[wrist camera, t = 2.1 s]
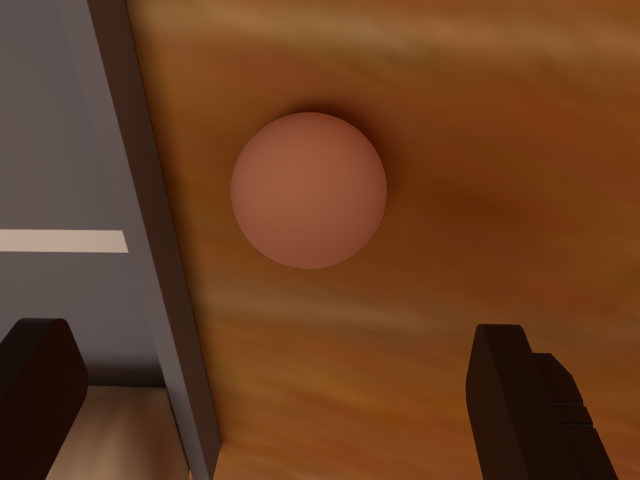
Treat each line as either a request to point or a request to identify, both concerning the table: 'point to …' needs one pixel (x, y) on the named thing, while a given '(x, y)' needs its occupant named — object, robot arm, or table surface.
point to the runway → (94, 209)
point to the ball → (308, 190)
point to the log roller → (123, 438)
